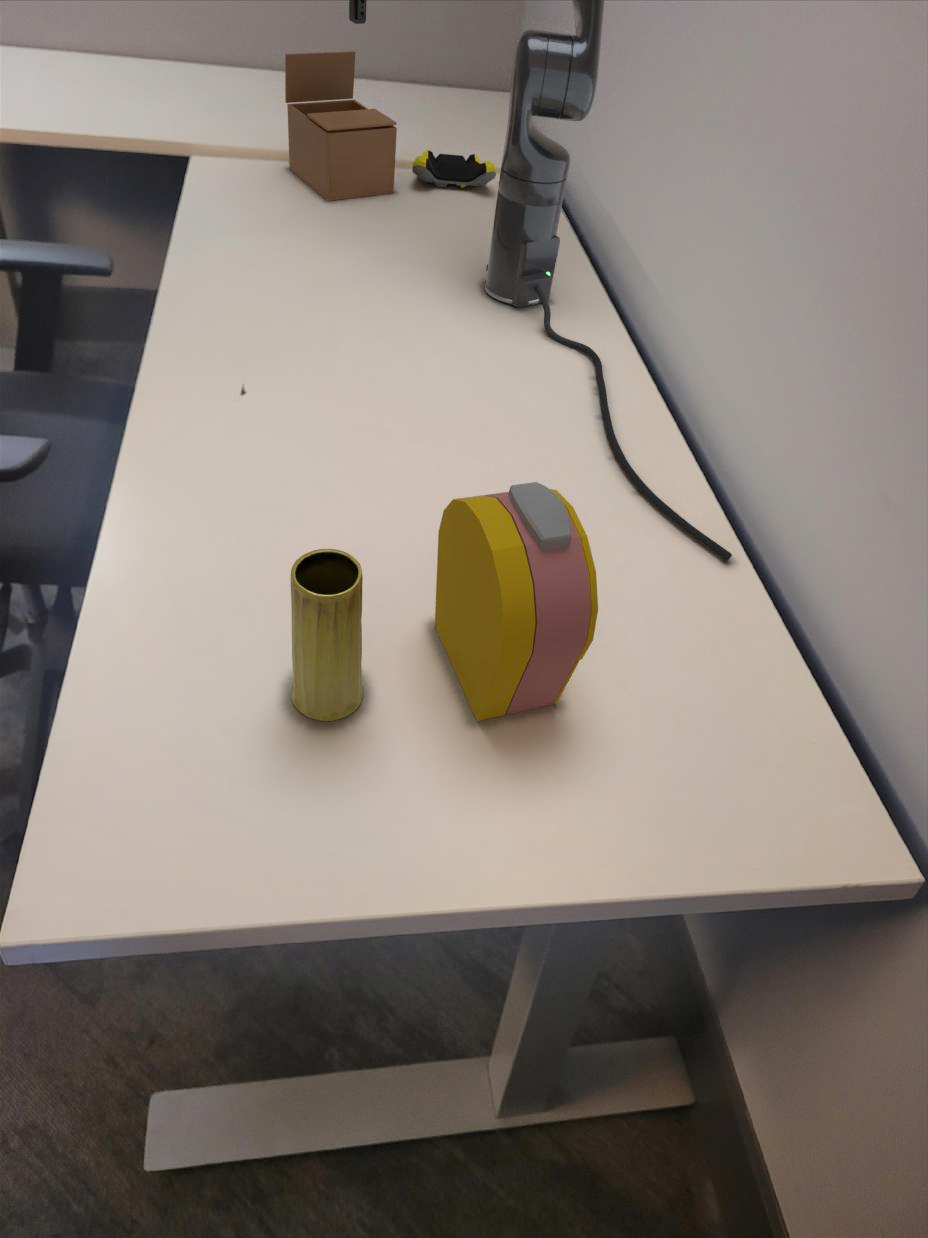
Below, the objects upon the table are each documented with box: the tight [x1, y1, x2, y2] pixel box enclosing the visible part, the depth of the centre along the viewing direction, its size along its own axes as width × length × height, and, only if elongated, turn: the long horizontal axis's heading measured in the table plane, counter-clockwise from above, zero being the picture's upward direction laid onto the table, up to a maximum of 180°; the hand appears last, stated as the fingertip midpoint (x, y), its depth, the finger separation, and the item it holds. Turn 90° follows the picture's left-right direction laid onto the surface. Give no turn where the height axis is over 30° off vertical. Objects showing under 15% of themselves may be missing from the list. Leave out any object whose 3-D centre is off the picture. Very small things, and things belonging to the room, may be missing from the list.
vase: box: [290, 548, 365, 722], centre depth 67 cm, size 6×6×14 cm
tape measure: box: [434, 481, 599, 722], centre depth 70 cm, size 15×8×18 cm, turn 20°
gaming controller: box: [411, 149, 497, 188], centre depth 155 cm, size 15×6×10 cm
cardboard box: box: [284, 50, 398, 202], centre depth 146 cm, size 16×13×18 cm
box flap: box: [307, 108, 398, 131], centre depth 142 cm, size 7×13×1 cm, turn 123°
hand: (357, 21), depth 131 cm, fingers closed
